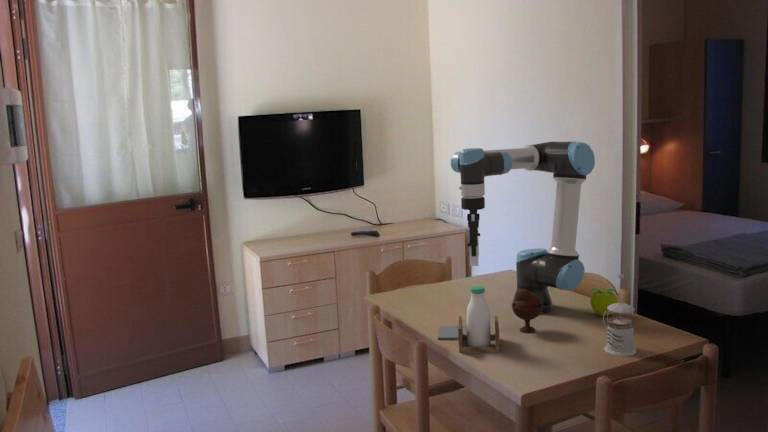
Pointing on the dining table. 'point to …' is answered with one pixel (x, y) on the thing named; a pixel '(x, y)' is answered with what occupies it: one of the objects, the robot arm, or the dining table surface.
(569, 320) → the dining table surface
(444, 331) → the coaster
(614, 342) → the french press
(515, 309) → the ice cream bowl
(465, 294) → the dining table surface
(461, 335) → the cradle
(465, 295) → the dining table surface
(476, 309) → the milk bottle
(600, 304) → the fruit
